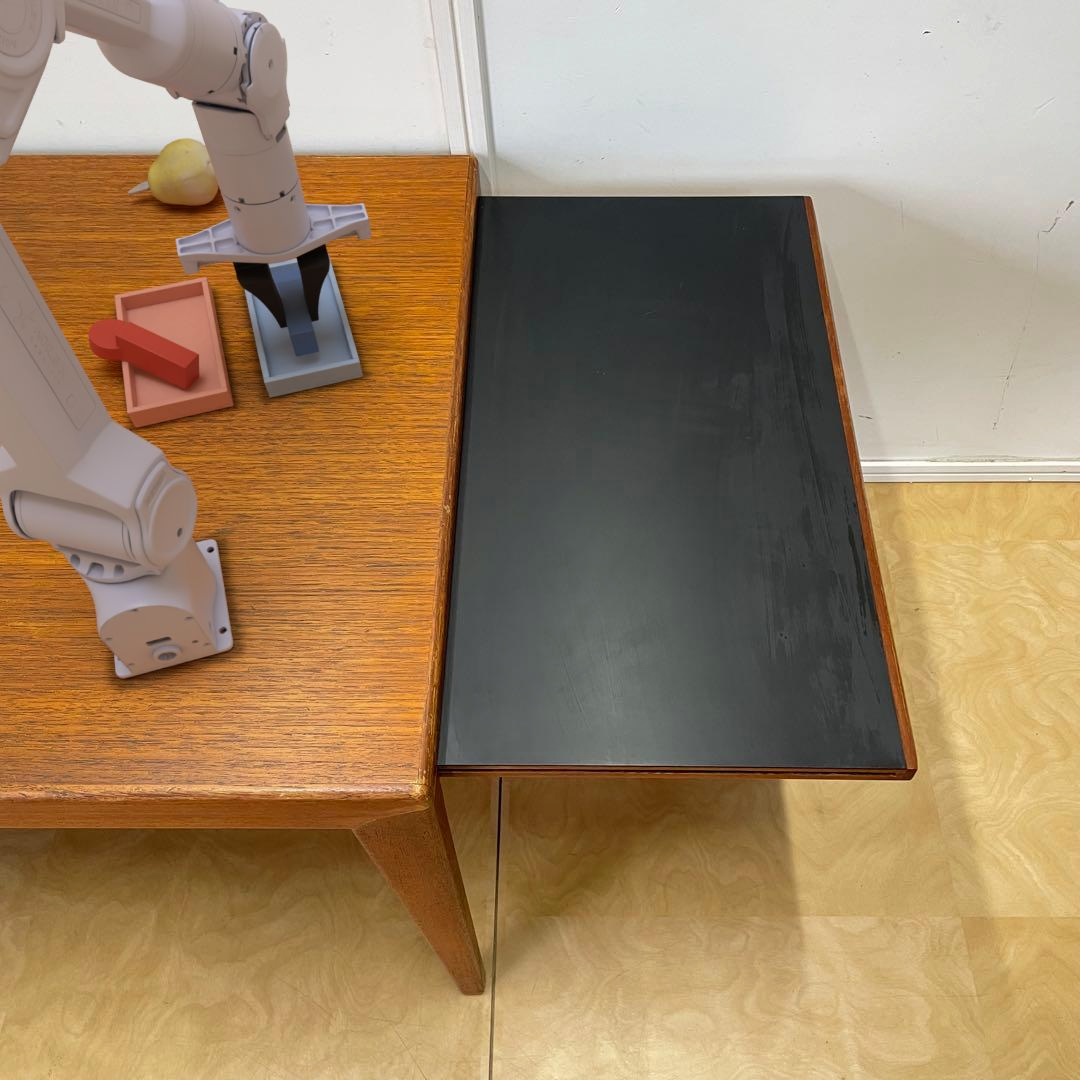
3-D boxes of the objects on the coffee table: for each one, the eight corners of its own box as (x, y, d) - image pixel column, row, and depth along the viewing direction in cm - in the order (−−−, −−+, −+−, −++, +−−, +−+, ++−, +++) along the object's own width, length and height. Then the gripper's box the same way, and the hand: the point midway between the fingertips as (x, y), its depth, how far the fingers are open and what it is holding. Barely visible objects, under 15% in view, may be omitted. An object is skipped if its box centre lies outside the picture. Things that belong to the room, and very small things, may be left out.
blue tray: (363, 377, 79) (359, 361, 77) (269, 398, 77) (264, 382, 76) (331, 268, 86) (328, 252, 84) (245, 285, 84) (240, 269, 83)
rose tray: (233, 406, 77) (227, 391, 75) (135, 428, 75) (127, 413, 74) (212, 292, 84) (206, 276, 82) (122, 310, 82) (114, 294, 81)
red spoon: (205, 370, 78) (204, 348, 76) (181, 396, 76) (180, 373, 74) (107, 324, 78) (104, 301, 76) (80, 348, 76) (76, 325, 74)
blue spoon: (329, 349, 78) (323, 327, 76) (286, 359, 77) (279, 337, 75) (309, 277, 83) (303, 254, 80) (269, 285, 82) (262, 262, 80)
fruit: (133, 183, 92) (229, 154, 92) (145, 234, 90) (243, 205, 91) (103, 146, 86) (206, 115, 86) (116, 200, 85) (220, 168, 85)
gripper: (346, 129, 70) (371, 267, 81) (151, 163, 67) (205, 301, 79) (366, 186, 66) (389, 323, 78) (160, 225, 64) (216, 360, 75)
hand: (298, 316), depth 78 cm, fingers closed on blue spoon, 2 cm apart
